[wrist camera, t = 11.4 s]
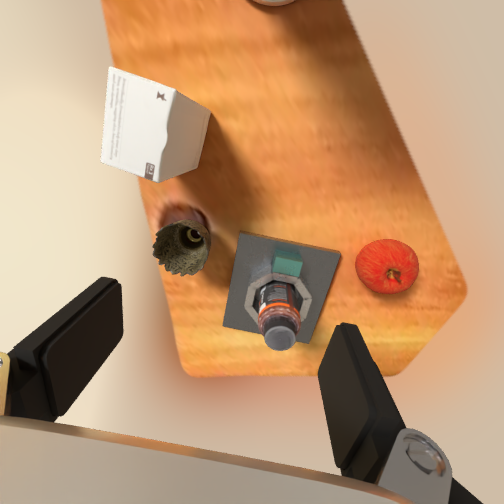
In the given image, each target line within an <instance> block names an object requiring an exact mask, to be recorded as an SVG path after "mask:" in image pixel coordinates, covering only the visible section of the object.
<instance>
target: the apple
mask: <svg viewBox="0 0 504 504" xmlns="http://www.w3.org/2000/svg"><path fill="white" fill-rule="evenodd" d="M355 268H356V272H357V275H358V277H359V278H360V280H361V281H362V282H363V283H364V284H365V285H366V286H367V287H368V288H369V289H371V290H373V291H375V292H378V293H383V294H395V293H399V292H402V291H405V290H407V289H408V288H410V287H411V285H412V284H413V282H414V281H415V279H416V278H417V276H418V272H419V263H418V258H417V256H416V254H415V252H414V251H413V250H412V248H411V247H409V246H408V245H406V244H404V243H402V242H400V241H397V240H392V239H383V240H377V241H374V242H372V243H370V244H368V245H366V246H365V247H364V248H363V249H362V250H361V251H360V253H359V254H358V256H357V258H356V261H355Z"/></svg>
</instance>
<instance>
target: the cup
mask: <svg viewBox="0 0 504 504" xmlns="http://www.w3.org/2000/svg"><path fill="white" fill-rule="evenodd" d="M192 230H195V231H198V234H199V235H200V237H199V238H197V239H196V238H193V237H192V236H191V231H192ZM156 236H157V238H156V242H155V244H154V245H153V248H154V251H153V256H154V257H156V258H158V259H159V263H158V264H159V265H163V264H165V269H166V271H171V273H172V274H178V273H179V272H181V276H184V275H185V274H189V275H194V274H195V273H197V272H198V271H199V270H201V269H202V268H203V267H204V264H205V262H206V260H207V258H208V254H209V251H210V246H211V239H210V235H209V233H208V231H207V229H206V228H205V227H204V226H203V225H202V224H200V223H199V222H197V221H194V220H181V221H177V222H175V223H172V224H170V225H166V226H164V227H163V228H161V229H160V231H158V232H157V233H156Z"/></svg>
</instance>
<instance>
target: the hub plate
mask: <svg viewBox="0 0 504 504" xmlns="http://www.w3.org/2000/svg"><path fill="white" fill-rule="evenodd" d="M340 255H341V253H340V252H339V251H336V250H331V249H326V248H321V247H316V246H312V245H307V244H302V243H297V242H292V241H288V240H283V239H278V238H273V237H268V236H264V235H259V234H254V233H249V232H244V231H240V234H239V240H238V245H237V251H236V256H235V261H234V267H233V272H232V277H231V283H230V288H229V294H228V299H227V304H226V310H225V315H224V320H223V326H224V327H229V328H234V329H239V330H243V331H248V332H253V333H258V334H261V332H260V331H259V327H258V313H259V299H260V290H261V287H262V286H263V285H265V284H266V283H268V282H270V281H272V280H277V281H282V282H287V283H291V284H292V285H293V286H294V288H295V291H296V296H297V301H298V307H299V313H300V319H301V328H300V331H299V333H298V334H297V335H296V341H297V342H302V343H307V344H309V342H310V339H311V337H312V334H313V331H314V328H315V325H316V322H317V320H318V317H319V314H320V311H321V308H322V306H323V303H324V300H325V297H326V294H327V292H328V289H329V286H330V283H331V280H332V278H333V275H334V272H335V269H336V266H337V264H338V261H339V258H340Z"/></svg>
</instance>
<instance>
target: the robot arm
mask: <svg viewBox="0 0 504 504" xmlns="http://www.w3.org/2000/svg"><path fill="white" fill-rule="evenodd" d="M254 1H255V2H257V3H260V4H264V5H267V6H280V5H285V4H289V3H291V2H293V1H295V0H254ZM122 336H123V310H122V287H121V284H119V283H118V281H117V280H116V279H113V278H107V277H101V278H99V279H98V280H96V282H94V283H93V284H92V285H91V286H89V287H88V288H87V289H85V290H84V291H83V292H82V293H80V294H79V295H78V296H77V297H75V298H74V299H73V300H72V301H70V302H69V303H68V304H67V305H65V306H64V307H63V308H62V309H60V310H59V311H58V312H57V313H55V314H54V315H53V316H52V317H51V318H49V319H48V320H47V321H46V322H44V323H43V324H42V325H41V326H39V327H38V328H37V329H36V330H35V331H33V332H32V333H31V334H29V335H28V336H27V337H26V338H24V339H23V340H22V341H21V342H20V343H18V344H17V345H16V346H14V347H13V348H14V349H12V350H11V351H10V352H9V353H8V354H6V353H3V352H0V504H483V503H482V502H481V501H479V500H478V499H477V498H476V497H475V496H474V495H472V494H471V493H470V492H469V491H468V490H467V489H465V488H464V487H463V486H462V485H461V484H460V483H458V482H457V481H456V480H455V479H454V478H453V477H452V468H451V466H450V463H449V460H448V459H447V457H446V455H445V454H444V452H443V451H442V450H441V449H440V447H439V446H438V445H437V444H436V443H435V442H434V441H433V440H431V438H429V437H428V436H426V435H425V434H423V433H422V432H420V431H417V430H415V429H409V428H406V426H405V424H404V422H403V420H402V417H401V415H400V413H399V411H398V409H397V407H396V405H395V403H394V400H393V398H392V397H391V394H390V392H389V390H388V388H387V386H386V383H385V381H384V379H383V377H382V375H381V373H380V371H379V369H378V366H377V365H376V363H375V362H374V361H373V359H372V357H371V355H370V353H369V350H368V348H367V346H366V344H365V342H364V340H363V337H362V335H361V333H360V331H359V329H358V327H357V325H354V324H349V323H341V324H340V325H337V326H336V327H335V330H334V332H333V335H332V337H331V340H330V342H329V344H328V347H327V349H326V352H325V354H324V357H323V359H322V362H321V364H320V367H319V370H318V380H319V384H320V390H321V395H322V400H323V405H324V410H325V415H326V420H327V425H328V430H329V435H330V440H331V445H332V449H333V455H334V460H335V464H336V466H337V467H338V468H340V469H341V474H342V476H339V475H334V474H329V473H325V472H320V471H314V470H310V469H306V468H301V467H295V466H290V465H285V464H279V463H274V462H269V461H264V460H258V459H253V458H248V457H243V456H238V455H232V454H227V453H221V452H216V451H210V450H205V449H200V448H194V447H189V446H184V445H178V444H173V443H167V442H162V441H156V440H151V439H145V438H140V437H135V436H129V435H123V434H118V433H111V432H106V431H101V430H95V429H90V428H84V427H78V426H73V425H66V424H60V423H54V421H55V420H56V419H57V418H58V417H59V416H63V415H64V414H65V413H66V412H67V411H68V409H69V408H70V407H71V405H72V404H73V403H74V401H75V400H76V399H77V397H78V396H79V395H80V393H81V392H82V391H83V389H84V388H85V387H86V385H87V384H88V383H89V382H90V380H91V379H92V377H93V376H94V375H95V374H96V372H97V371H98V370H99V368H100V367H101V366H102V364H103V363H104V362H105V360H106V359H107V358H108V356H109V355H110V353H111V352H112V351H113V349H114V348H115V347H116V346H117V344H118V343H119V342H120V340H121V338H122Z"/></svg>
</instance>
